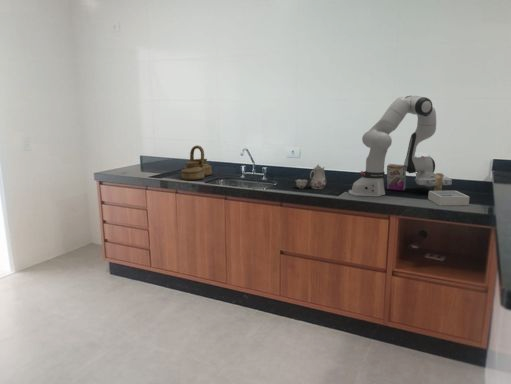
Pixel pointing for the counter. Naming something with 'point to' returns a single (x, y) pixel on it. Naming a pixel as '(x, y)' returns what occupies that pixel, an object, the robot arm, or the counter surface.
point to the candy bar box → (396, 177)
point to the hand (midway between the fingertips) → (439, 183)
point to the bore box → (448, 198)
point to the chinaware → (314, 179)
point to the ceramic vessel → (196, 166)
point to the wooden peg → (438, 182)
